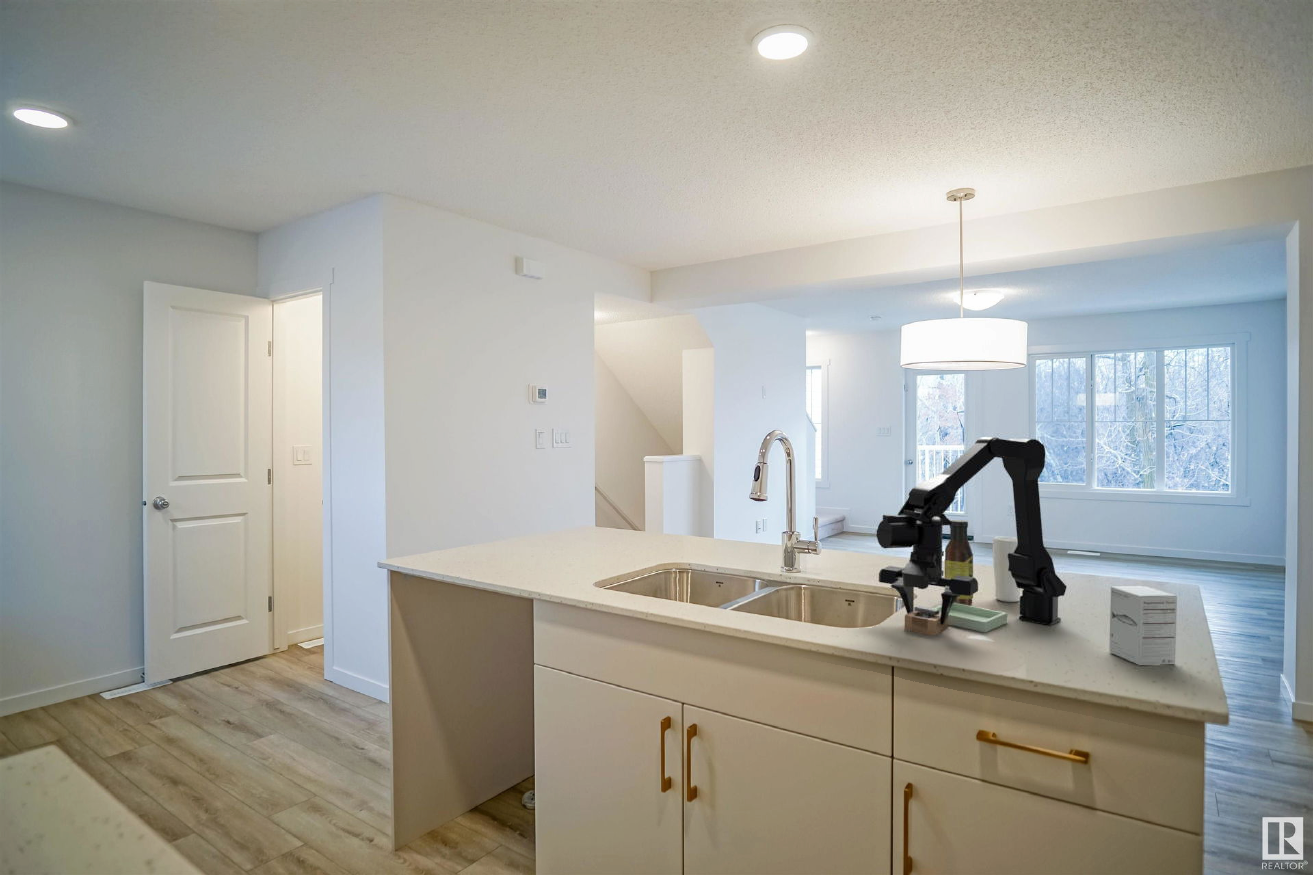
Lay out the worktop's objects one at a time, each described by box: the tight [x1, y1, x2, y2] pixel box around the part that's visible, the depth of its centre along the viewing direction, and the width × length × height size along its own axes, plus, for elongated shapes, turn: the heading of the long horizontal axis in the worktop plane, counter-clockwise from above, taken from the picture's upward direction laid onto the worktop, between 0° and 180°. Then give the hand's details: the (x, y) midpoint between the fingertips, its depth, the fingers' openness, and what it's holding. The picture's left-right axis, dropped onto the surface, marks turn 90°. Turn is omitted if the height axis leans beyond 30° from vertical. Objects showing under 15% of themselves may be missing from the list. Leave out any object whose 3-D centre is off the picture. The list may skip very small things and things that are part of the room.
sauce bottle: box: [944, 519, 974, 606], centre depth 165 cm, size 7×6×20 cm
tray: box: [932, 603, 1008, 633], centre depth 151 cm, size 12×11×2 cm
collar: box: [904, 611, 949, 636], centre depth 145 cm, size 8×6×3 cm
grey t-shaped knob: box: [914, 605, 939, 618], centre depth 145 cm, size 5×2×4 cm, turn 41°
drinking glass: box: [992, 536, 1021, 603], centre depth 170 cm, size 7×7×15 cm
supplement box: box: [1108, 585, 1178, 666], centre depth 127 cm, size 7×7×13 cm
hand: (926, 621), depth 145 cm, fingers closed on collar, 6 cm apart
